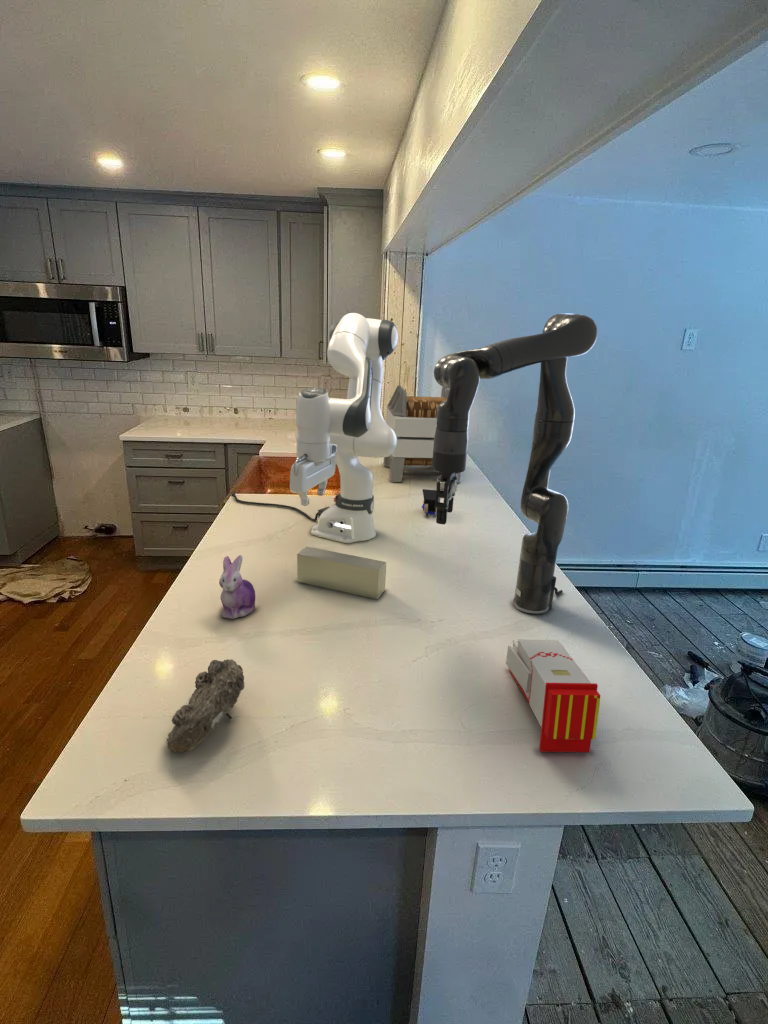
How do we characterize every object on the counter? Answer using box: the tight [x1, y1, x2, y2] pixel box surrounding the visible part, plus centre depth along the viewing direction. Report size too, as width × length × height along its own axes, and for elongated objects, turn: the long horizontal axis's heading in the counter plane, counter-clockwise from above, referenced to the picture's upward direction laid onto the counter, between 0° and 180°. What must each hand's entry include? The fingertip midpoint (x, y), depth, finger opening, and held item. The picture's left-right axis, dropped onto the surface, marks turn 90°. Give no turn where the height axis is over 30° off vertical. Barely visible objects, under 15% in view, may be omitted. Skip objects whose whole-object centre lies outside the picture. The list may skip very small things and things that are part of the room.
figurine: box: [218, 554, 256, 619], centre depth 143 cm, size 9×10×15 cm
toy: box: [505, 638, 602, 753], centre depth 114 cm, size 12×13×30 cm
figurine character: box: [421, 488, 437, 518], centre depth 221 cm, size 7×8×15 cm
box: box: [296, 546, 387, 600], centre depth 159 cm, size 25×6×9 cm, turn 70°
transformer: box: [383, 384, 462, 484], centre depth 268 cm, size 34×33×41 cm
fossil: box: [166, 658, 245, 754], centre depth 106 cm, size 22×10×15 cm
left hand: (313, 499), depth 155 cm, fingers open, 8 cm apart
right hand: (444, 517), depth 131 cm, fingers open, 8 cm apart
